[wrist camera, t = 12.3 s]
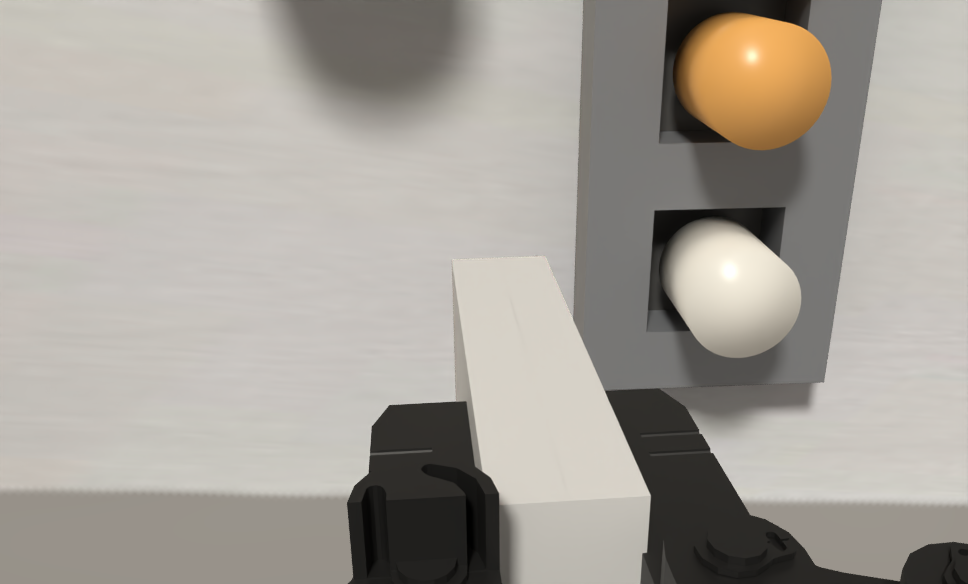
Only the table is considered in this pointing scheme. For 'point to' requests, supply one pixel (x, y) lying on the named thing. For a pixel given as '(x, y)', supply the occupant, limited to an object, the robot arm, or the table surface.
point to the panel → (705, 190)
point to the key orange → (752, 79)
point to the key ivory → (729, 287)
